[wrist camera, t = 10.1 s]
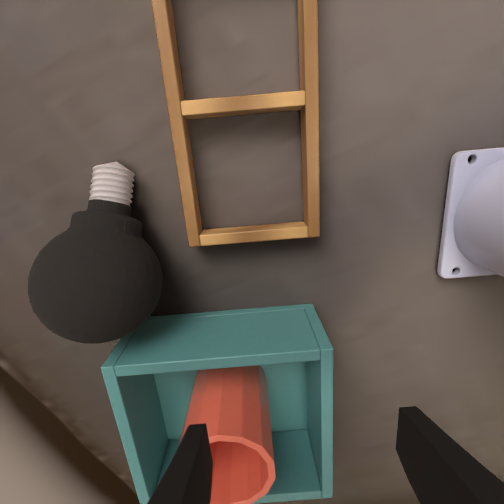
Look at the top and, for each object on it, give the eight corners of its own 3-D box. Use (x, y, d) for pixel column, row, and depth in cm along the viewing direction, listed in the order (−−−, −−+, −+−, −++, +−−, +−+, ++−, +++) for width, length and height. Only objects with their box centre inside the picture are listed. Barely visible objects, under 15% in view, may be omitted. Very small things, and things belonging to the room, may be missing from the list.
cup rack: (310, -69, 14) (317, -95, 13) (314, 230, 19) (320, 236, 17) (149, -54, 14) (138, -79, 13) (193, 240, 19) (188, 247, 17)
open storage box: (312, 303, 20) (333, 348, 15) (314, 428, 24) (332, 498, 19) (135, 317, 20) (99, 367, 15) (163, 440, 24) (142, 512, 19)
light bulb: (135, 134, 13) (109, 368, 12) (190, 181, 19) (175, 336, 18) (12, 134, 14) (-18, 348, 13) (103, 178, 20) (85, 324, 19)
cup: (263, 348, 20) (271, 430, 14) (269, 408, 22) (278, 505, 16) (189, 355, 20) (164, 440, 14) (200, 414, 22) (182, 514, 16)
